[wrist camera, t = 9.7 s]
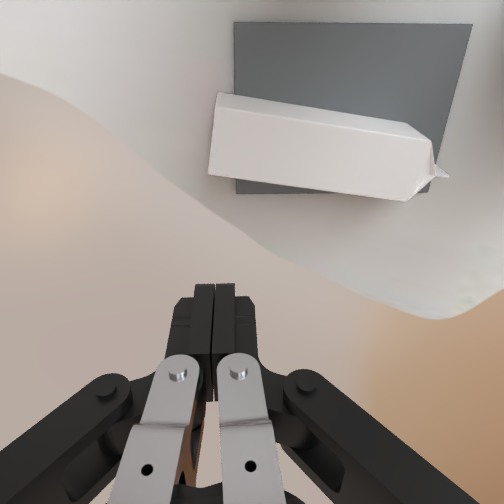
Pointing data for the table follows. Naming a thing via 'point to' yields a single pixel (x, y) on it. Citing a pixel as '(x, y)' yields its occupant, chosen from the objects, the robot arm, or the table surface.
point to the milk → (318, 149)
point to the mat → (352, 73)
